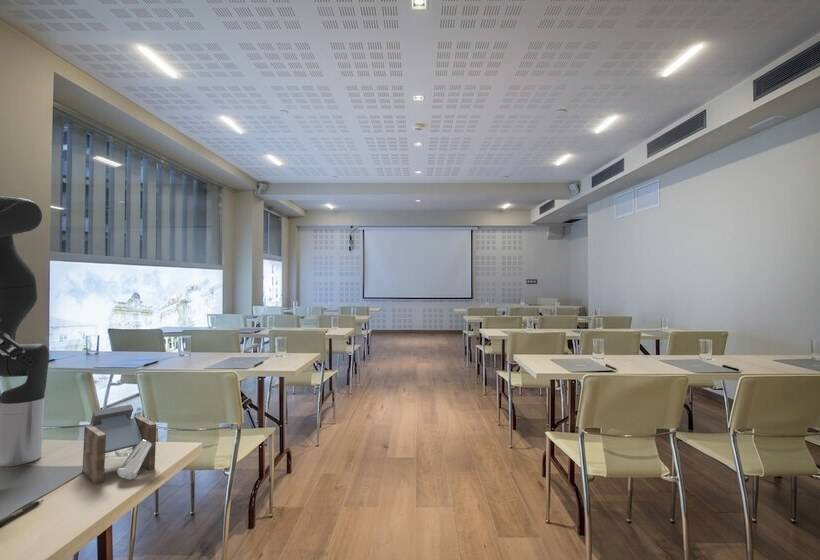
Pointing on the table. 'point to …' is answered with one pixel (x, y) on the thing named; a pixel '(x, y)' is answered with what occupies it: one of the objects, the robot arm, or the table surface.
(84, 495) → the table surface
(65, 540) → the table surface
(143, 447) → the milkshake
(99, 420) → the trapdoor
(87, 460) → the stand
